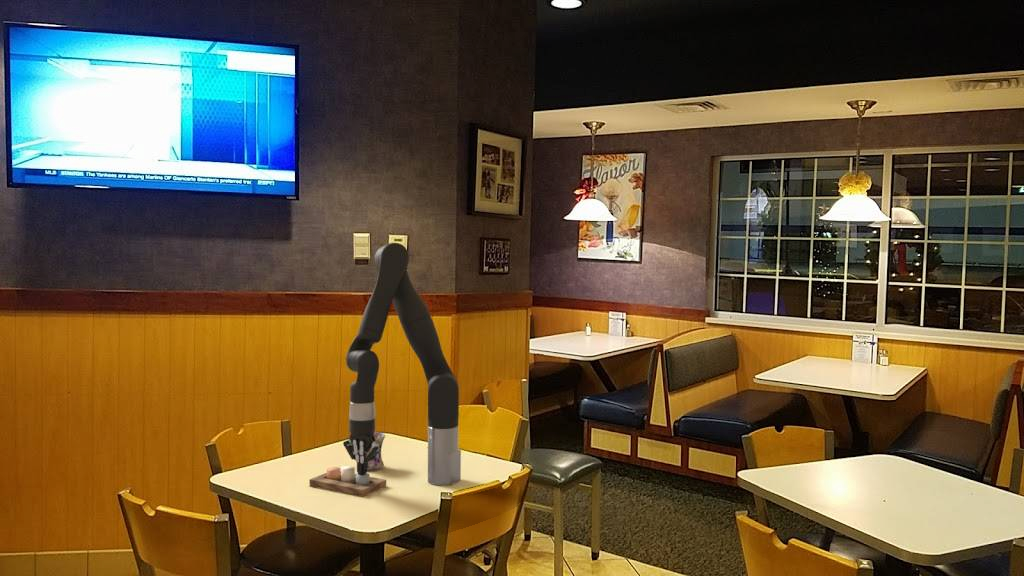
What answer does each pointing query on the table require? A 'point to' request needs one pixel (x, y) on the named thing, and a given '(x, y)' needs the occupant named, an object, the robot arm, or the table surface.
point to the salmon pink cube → (333, 473)
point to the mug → (377, 461)
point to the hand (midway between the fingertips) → (362, 474)
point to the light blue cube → (363, 479)
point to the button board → (347, 485)
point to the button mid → (347, 474)
